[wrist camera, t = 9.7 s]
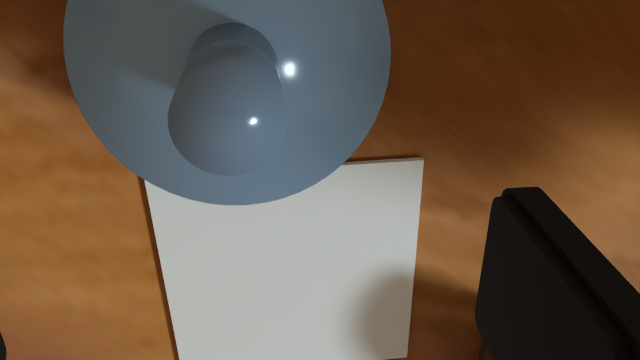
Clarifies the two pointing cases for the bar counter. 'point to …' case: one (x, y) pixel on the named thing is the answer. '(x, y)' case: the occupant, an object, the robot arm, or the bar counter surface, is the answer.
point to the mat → (295, 268)
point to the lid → (229, 89)
